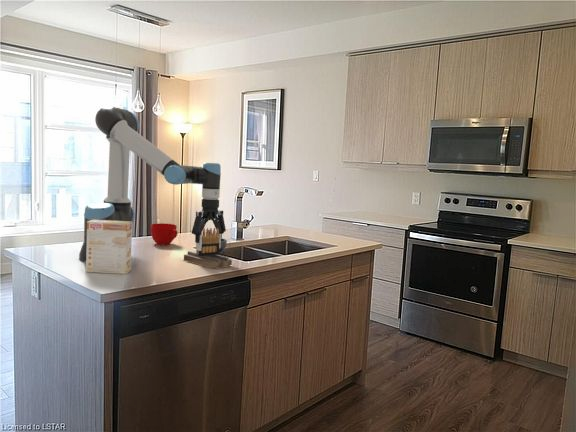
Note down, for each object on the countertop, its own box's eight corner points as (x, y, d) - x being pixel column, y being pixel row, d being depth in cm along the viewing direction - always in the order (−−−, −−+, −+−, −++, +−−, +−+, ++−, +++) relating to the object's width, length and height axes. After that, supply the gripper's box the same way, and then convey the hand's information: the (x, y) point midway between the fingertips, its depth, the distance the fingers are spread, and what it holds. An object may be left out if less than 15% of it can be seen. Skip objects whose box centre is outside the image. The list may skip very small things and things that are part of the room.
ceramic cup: (165, 248, 230) (166, 228, 229) (144, 243, 240) (145, 224, 239) (186, 246, 241) (186, 226, 239) (165, 241, 251) (166, 222, 250)
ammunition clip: (198, 256, 199) (199, 228, 198) (196, 255, 201) (197, 227, 199) (219, 254, 207) (220, 227, 205) (216, 253, 208) (218, 226, 207)
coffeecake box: (131, 270, 182) (132, 221, 180) (125, 274, 175) (127, 223, 173) (92, 268, 182) (93, 218, 179) (85, 272, 174) (86, 220, 172)
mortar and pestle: (217, 250, 233) (218, 227, 232) (229, 254, 227) (231, 230, 226) (199, 253, 225) (200, 228, 224) (211, 256, 219) (213, 231, 217)
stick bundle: (214, 268, 194) (214, 260, 194) (183, 260, 206) (184, 252, 206) (231, 265, 202) (232, 257, 201) (201, 257, 214) (201, 249, 214)
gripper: (195, 199, 190) (193, 253, 192) (235, 199, 208) (233, 247, 210) (184, 198, 194) (181, 250, 197) (223, 197, 212) (221, 245, 214)
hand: (208, 249), depth 203 cm, fingers closed on ammunition clip, 10 cm apart
